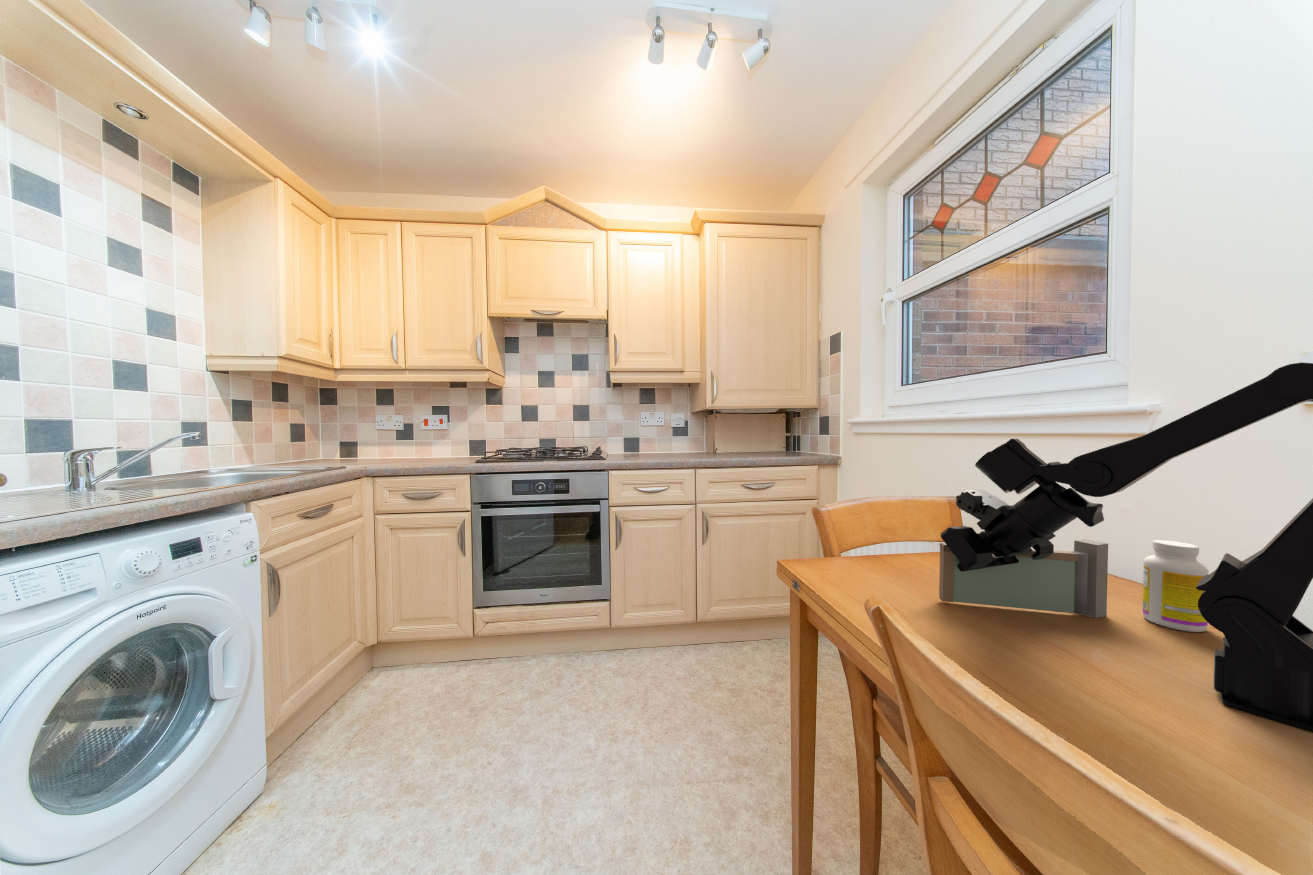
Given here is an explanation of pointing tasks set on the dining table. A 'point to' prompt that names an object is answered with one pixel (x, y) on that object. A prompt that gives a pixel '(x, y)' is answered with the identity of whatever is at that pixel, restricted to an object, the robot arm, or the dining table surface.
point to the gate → (1019, 582)
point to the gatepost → (1095, 575)
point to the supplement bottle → (1173, 586)
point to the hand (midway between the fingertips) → (960, 568)
